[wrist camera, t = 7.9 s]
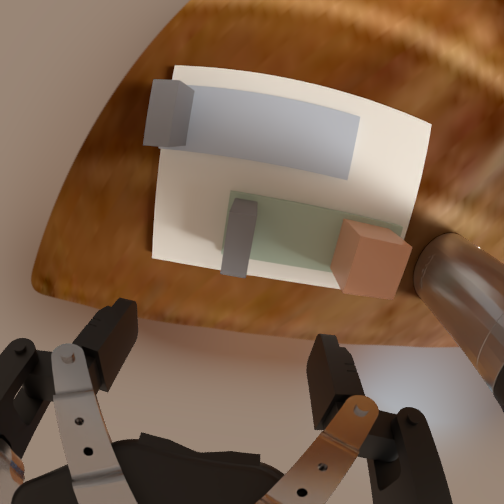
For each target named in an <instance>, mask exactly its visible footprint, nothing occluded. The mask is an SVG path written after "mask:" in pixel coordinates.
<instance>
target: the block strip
mask: <svg viewBox="0 0 504 504" xmlns="http://www.w3.org/2000/svg"><path fill="white" fill-rule="evenodd" d="M343 218H344V219H349V220H353V221H358V222H362V223H367V224H371V225H375V226H380V227H384V228H388V229H390V230H392V231H393V232H394V233H395V234H397V235H398V236H399V237H400V236H401V233H402V229H403V227H402V226H401V225H398V224H394V223H390V222H386V221H381V220H377V219H373V218H369V217H365V216H360V215H356V214H351V213H347V212H342V211H338V210H333V209H329V208H324V207H319V206H314V205H309V204H304V203H299V202H294V201H289V200H284V199H278V198H273V197H267V196H262V195H256V194H250V193H244V192H238V191H232V190H231V191H230V197H229V203H228V210H227V216H226V223H225V230H224V237H223V244H222V251H221V254H223V258H222V265H221V272H220V274H224V275H229V276H235V277H241V278H246V274H247V269H248V263H249V259H253V260H259V261H265V262H271V263H277V264H283V265H289V266H295V267H301V268H307V269H313V270H319V271H325V272H332V271H331V269H330V265H331V262H332V258H333V255H334V252H335V248H336V244H337V241H338V237H339V234H340V230H341V226H342V222H343Z"/></svg>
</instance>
